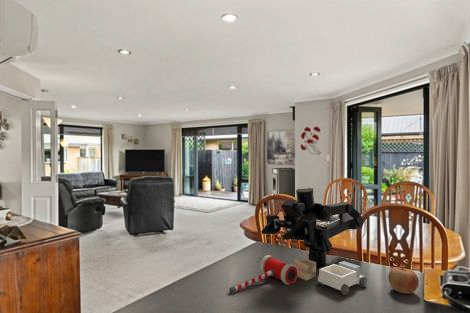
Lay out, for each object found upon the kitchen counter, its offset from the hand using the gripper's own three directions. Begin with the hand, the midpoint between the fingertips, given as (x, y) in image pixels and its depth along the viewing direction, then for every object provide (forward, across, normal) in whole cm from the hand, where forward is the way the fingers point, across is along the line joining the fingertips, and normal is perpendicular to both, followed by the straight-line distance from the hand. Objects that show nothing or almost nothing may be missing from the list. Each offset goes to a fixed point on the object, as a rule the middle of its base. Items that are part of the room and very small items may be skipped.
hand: (271, 234), depth 97 cm
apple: (-24, +28, +21) cm, 43 cm away
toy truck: (-13, +14, +19) cm, 27 cm away
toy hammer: (+4, -2, +15) cm, 16 cm away
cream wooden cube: (-10, +3, +18) cm, 20 cm away
